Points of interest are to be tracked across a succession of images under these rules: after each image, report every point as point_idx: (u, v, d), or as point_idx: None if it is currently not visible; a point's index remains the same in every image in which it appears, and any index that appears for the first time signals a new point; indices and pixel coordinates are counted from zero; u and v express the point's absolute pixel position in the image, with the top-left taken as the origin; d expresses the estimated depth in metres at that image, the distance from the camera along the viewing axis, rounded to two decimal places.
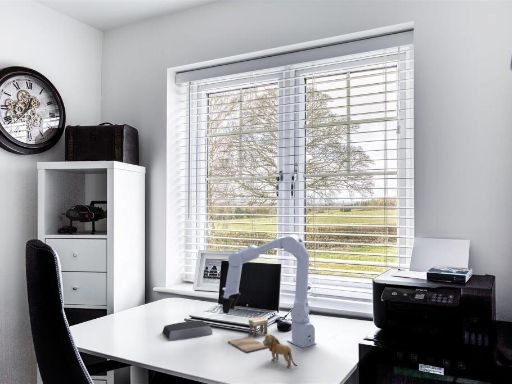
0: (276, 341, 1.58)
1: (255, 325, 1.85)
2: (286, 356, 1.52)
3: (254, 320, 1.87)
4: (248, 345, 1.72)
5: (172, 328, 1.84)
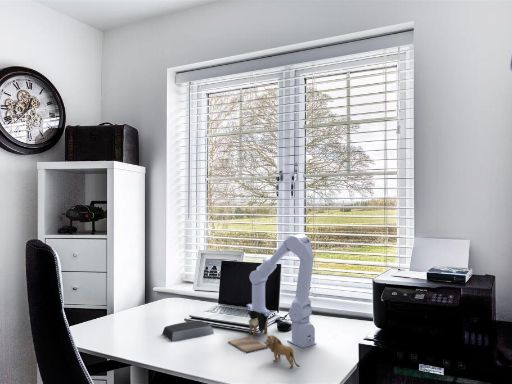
0: (278, 342, 1.57)
1: (255, 325, 1.85)
2: (288, 357, 1.51)
3: (254, 320, 1.87)
4: (248, 345, 1.72)
5: (173, 329, 1.83)
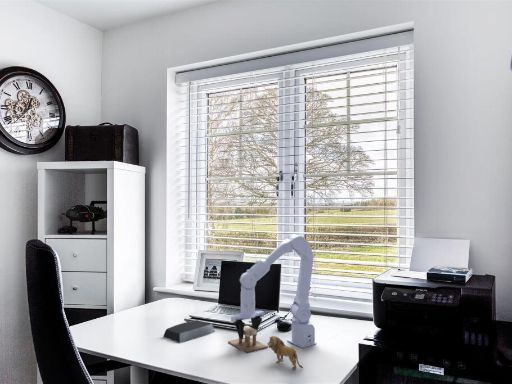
0: (281, 343, 1.56)
1: None
2: (292, 358, 1.50)
3: (250, 330, 1.72)
4: None
5: (178, 330, 1.81)
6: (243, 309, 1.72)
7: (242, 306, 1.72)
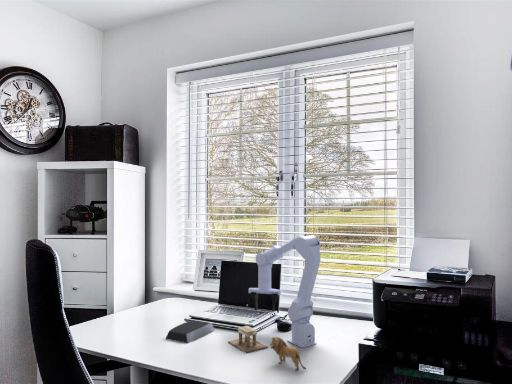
0: (283, 343, 1.55)
1: None
2: (294, 359, 1.49)
3: (250, 330, 1.72)
4: None
5: (182, 331, 1.81)
6: (258, 283, 1.92)
7: (258, 281, 1.92)
